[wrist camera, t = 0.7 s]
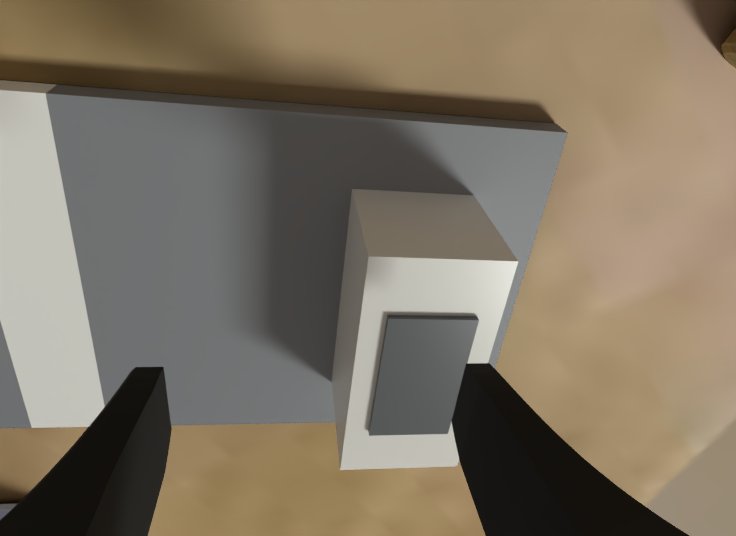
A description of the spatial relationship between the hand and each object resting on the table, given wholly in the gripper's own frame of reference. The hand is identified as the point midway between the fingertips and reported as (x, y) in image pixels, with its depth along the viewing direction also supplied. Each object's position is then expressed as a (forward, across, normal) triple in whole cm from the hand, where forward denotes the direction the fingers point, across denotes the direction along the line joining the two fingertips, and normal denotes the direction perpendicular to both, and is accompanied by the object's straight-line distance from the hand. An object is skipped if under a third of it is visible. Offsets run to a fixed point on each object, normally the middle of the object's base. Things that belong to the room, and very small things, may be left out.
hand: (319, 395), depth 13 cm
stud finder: (+8, -4, +2) cm, 9 cm away
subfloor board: (+9, +4, +2) cm, 10 cm away
